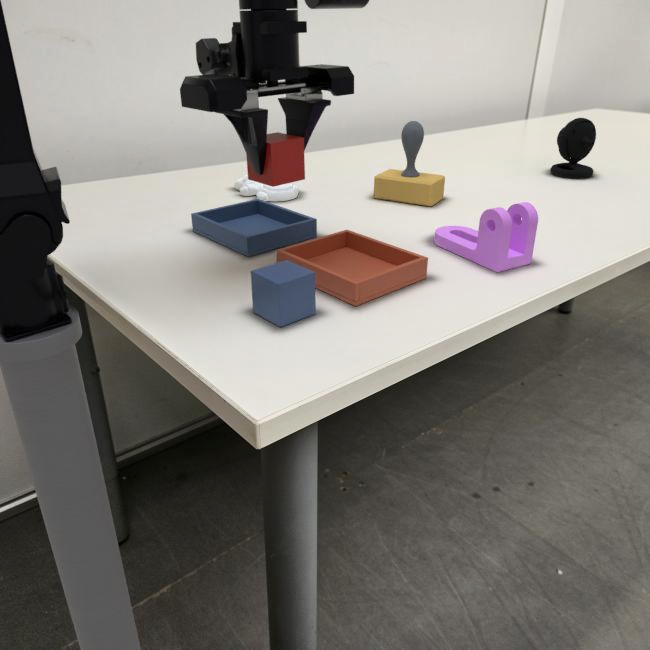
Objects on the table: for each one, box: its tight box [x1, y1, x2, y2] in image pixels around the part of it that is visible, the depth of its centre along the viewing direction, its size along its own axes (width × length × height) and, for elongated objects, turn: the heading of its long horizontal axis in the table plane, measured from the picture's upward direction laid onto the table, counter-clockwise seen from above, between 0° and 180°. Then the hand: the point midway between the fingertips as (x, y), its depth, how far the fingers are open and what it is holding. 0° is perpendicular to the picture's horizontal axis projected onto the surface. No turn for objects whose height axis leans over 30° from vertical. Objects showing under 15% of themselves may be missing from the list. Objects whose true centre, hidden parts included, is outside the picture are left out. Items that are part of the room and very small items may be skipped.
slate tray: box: [190, 198, 318, 257], centre depth 82 cm, size 11×13×2 cm
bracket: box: [434, 201, 539, 273], centre depth 75 cm, size 13×6×7 cm, turn 31°
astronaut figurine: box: [234, 173, 300, 202], centre depth 101 cm, size 9×12×3 cm
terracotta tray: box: [275, 229, 429, 307], centre depth 69 cm, size 11×13×2 cm
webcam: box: [550, 117, 597, 179], centre depth 111 cm, size 8×8×10 cm
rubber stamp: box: [373, 120, 446, 207], centre depth 96 cm, size 10×6×12 cm, turn 60°
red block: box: [245, 131, 306, 187], centre depth 66 cm, size 4×4×4 cm
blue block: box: [250, 260, 317, 328], centre depth 60 cm, size 4×4×4 cm
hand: (276, 170), depth 67 cm, fingers closed on red block, 4 cm apart
